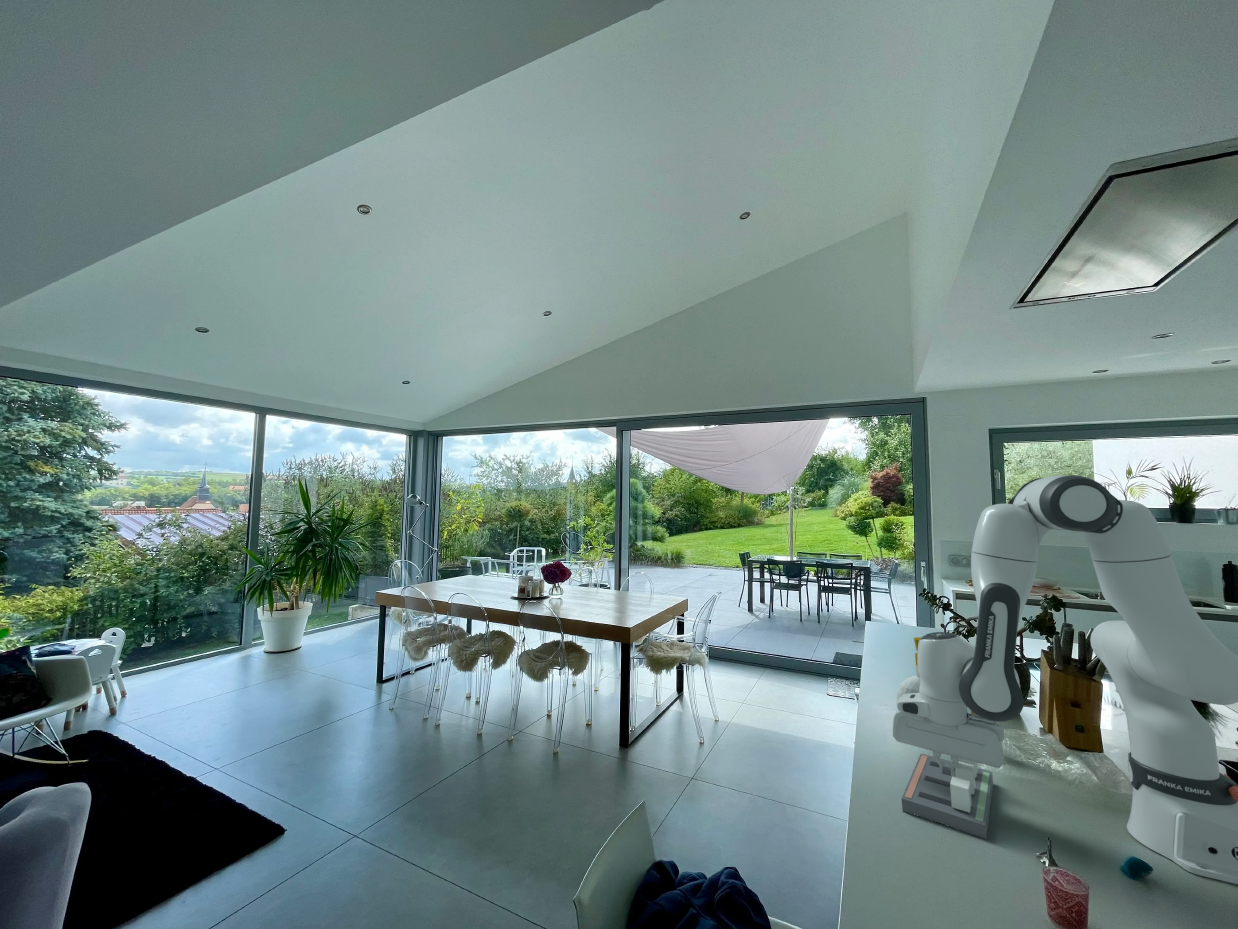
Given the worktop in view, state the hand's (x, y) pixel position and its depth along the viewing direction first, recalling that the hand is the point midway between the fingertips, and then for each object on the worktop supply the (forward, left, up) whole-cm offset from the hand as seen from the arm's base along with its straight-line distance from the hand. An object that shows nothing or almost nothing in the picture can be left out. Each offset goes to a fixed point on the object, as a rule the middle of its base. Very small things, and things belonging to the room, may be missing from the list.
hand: (947, 774), depth 107 cm
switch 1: (-3, -8, -2) cm, 9 cm away
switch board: (0, 0, -5) cm, 5 cm away
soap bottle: (+8, -30, -5) cm, 31 cm away
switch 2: (-3, +8, -2) cm, 9 cm away
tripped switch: (-3, 0, -2) cm, 4 cm away
